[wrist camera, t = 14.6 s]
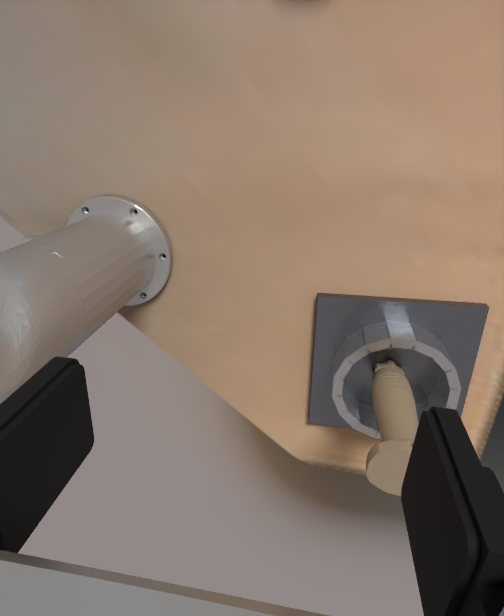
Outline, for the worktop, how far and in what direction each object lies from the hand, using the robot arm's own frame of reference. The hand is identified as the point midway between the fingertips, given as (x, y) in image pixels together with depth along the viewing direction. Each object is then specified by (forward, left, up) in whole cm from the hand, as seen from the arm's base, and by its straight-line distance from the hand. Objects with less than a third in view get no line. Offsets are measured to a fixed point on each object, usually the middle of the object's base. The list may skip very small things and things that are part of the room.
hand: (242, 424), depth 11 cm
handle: (+10, -18, -33) cm, 39 cm away
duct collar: (+10, -18, -34) cm, 40 cm away
